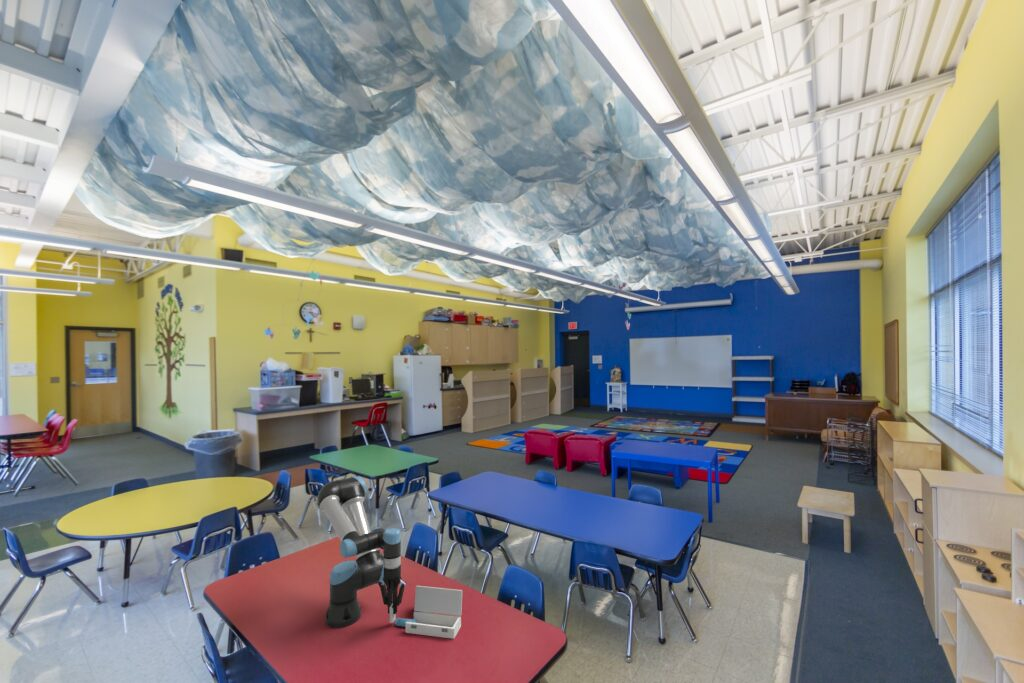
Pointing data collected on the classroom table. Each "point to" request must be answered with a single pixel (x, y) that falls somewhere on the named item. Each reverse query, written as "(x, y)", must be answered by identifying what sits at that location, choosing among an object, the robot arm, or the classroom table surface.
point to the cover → (438, 600)
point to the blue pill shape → (403, 621)
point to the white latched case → (434, 629)
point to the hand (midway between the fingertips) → (392, 620)
